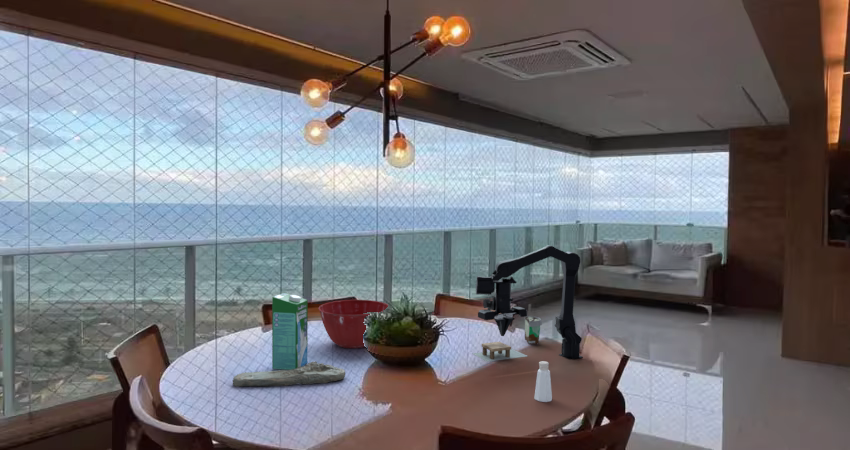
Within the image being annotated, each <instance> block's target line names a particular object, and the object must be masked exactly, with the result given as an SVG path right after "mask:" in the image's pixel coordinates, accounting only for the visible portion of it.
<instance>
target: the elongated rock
mask: <svg viewBox="0 0 850 450" xmlns="http://www.w3.org/2000/svg"><path fill="white" fill-rule="evenodd" d="M345 377H346V370H345V369H344V368H341V367H337V366H334V365H331V364H324V363H323V362H322V363H319V362H317V361H312V362H307V363H306V364H305V365H304V366H302V367H297V368H296V369H292V370H283V369H277V370H272V371H271V370H270V371H268V370H267V371H266V370H265V371H254V372H250V371H248V372H246V371H245V372H241V373H239V374H236V375H235V376H234V375H233V377H232V378H233V379H232V385H233V386H234V387H236V388H238V387H239V388H240V387H280V386H281V387H283V386H294V385H313V384H328V383H330V382H336V381H340V380H344V379H345Z"/></svg>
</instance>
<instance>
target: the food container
mask: <svg viewBox="0 0 850 450" xmlns="http://www.w3.org/2000/svg"><path fill="white" fill-rule="evenodd" d="M542 325H543V321H542V319H541V318H540V317H538V316H535V315H527V316H526V317H524V340H525V341H526V343H527V344H528V345H538V344H539V342H540V334H541V326H542Z"/></svg>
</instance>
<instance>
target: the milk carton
mask: <svg viewBox="0 0 850 450" xmlns="http://www.w3.org/2000/svg"><path fill="white" fill-rule="evenodd" d="M271 300H272V301H271V303H272V305H271V308H272V309H271V310H272V317H271V318H272V320H271V321H272V323H271V324H272V325H271V326H272V327H271V329H272V330H271V331H272V332H271V334H272V336H271V337H272V339H271V340H272V341H271V342H272V343H271V345H272V353H271V355H272V357H271V359H272V363H271V367H272V370H273V369H274V370H286V371H287V370H292V369H296V368H297V367H303V366H305V365H306V364H308V341H309V340H308V337H309V336H308V333H309V331H308V326H309V324H308V322H309V321H308V320H309V319H308V317H309V316H308V312H309V311H308V309H309V308H308V305H309V304H308V299H306V298H303V297H301V296H299V295H297V294H290V293H287V292H282V293H280V294H277V295H274V296H272V299H271Z"/></svg>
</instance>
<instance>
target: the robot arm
mask: <svg viewBox="0 0 850 450" xmlns="http://www.w3.org/2000/svg"><path fill="white" fill-rule="evenodd" d="M548 258H553V259H556V260H558V261H560V264H561V270H562V274H563V276H562V277H563V281H562V293H561V310H560V313H559V316H557V315H555V323H554V327H555V328H556V331H557V332H558V334H559V335H560V336H561V338H562V339H561V353H558V356H560V357H562V358H565V359H567V360H578V359H583V355H580V352H581V351H580V349H581V347H580V344H581V343H582V340H583V337H581V336H580V334H578V333H577V331H576V330H577V329H576V322H575V318H574V303H575V288H576V286H575V285H576V276H577V274H578V271H579V269H580V265H581V257H580V256H579V254H577V253H576V252H573V251H563V250H561V249H558V248H557V247H555V246H553V245H550V244H547V245H545V246H544V247H541V248H538V249H536V250H534V251H531V252H529V253H526V254H524V255H522V256H518V257H516V258H511V259H510V258H509V259H504V260H500V261H498V262H497V263H496V264H495V267H494V268H495V269H494V270H493V272H492V273H491V275H490V276H480V275H477V276H476V282H475V295H484V296H485V295H488V296H489V295H490V296H491V295H492V294H493V293H494V292H495V296H493V297H492V298H493V299H492V300H490V299H488V298H486V299H483V303H482V304H483V305H482V306H483V308H484V309H480V310H478V312H477V318H479V319H481V320H484V321H491V320H493V321H495V323H496V326H497V328H498V331H499V332H498V333H499V334H500V336H501V337H504V336H505V334H506V333H507V331H508V329H509V327H510V325H511V324H512V322H513V321H514V320H516V318H515V317H513V316H515V315H518V316H519V317H520V318H523V317H524V318H525V317H526V316H528V310H527V309H526V308H524V307H522V306H513V307H511V306H512V304H511V303H512V302H513V301H514V298H512V296H511V295H512V290H511V289H512V284H517V281H516V280H515V279H514V277H513V276H512V275H514V274H515V273H517V272H518V271H520V270H521V269H522V268H526V267H528V266H531V265H533V264H535V263H537V262H540V261H543V260H545V259H548Z"/></svg>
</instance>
